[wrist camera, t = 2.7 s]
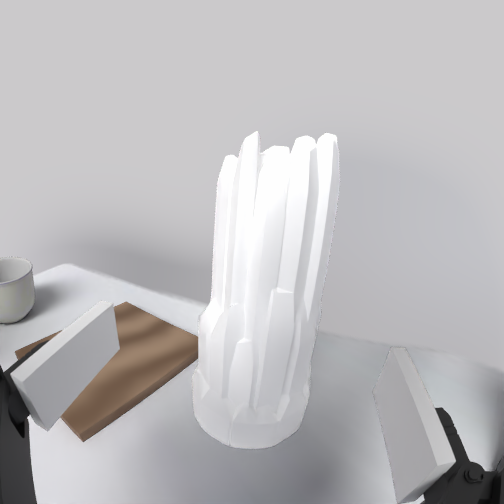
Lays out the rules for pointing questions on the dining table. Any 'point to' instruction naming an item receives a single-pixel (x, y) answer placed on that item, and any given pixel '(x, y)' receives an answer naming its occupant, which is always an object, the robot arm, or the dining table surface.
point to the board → (128, 369)
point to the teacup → (15, 289)
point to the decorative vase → (265, 290)
